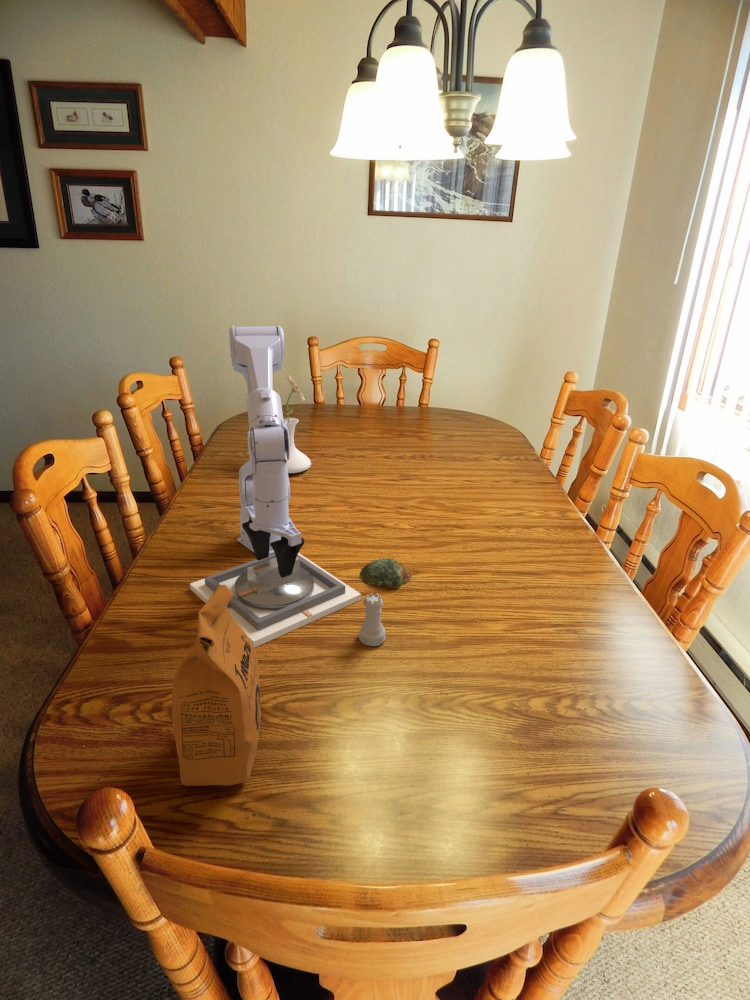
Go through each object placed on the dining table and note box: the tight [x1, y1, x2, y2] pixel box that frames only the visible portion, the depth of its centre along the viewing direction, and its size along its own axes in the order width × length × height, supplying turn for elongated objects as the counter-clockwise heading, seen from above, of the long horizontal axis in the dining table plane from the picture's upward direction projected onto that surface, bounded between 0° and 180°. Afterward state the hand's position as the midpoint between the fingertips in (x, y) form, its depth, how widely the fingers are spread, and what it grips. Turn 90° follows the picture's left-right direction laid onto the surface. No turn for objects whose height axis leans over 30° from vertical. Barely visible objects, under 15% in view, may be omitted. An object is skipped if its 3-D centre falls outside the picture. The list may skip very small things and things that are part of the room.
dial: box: [235, 557, 314, 610], centre depth 111 cm, size 14×14×5 cm
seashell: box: [359, 557, 413, 590], centre depth 119 cm, size 10×4×10 cm
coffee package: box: [171, 585, 262, 787], centre depth 74 cm, size 10×12×22 cm
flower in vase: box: [283, 375, 312, 474], centre depth 165 cm, size 13×11×25 cm
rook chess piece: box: [358, 592, 387, 647], centre depth 100 cm, size 4×4×8 cm
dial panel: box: [189, 552, 362, 649], centre depth 112 cm, size 22×22×3 cm
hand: (273, 566), depth 110 cm, fingers open, 7 cm apart
